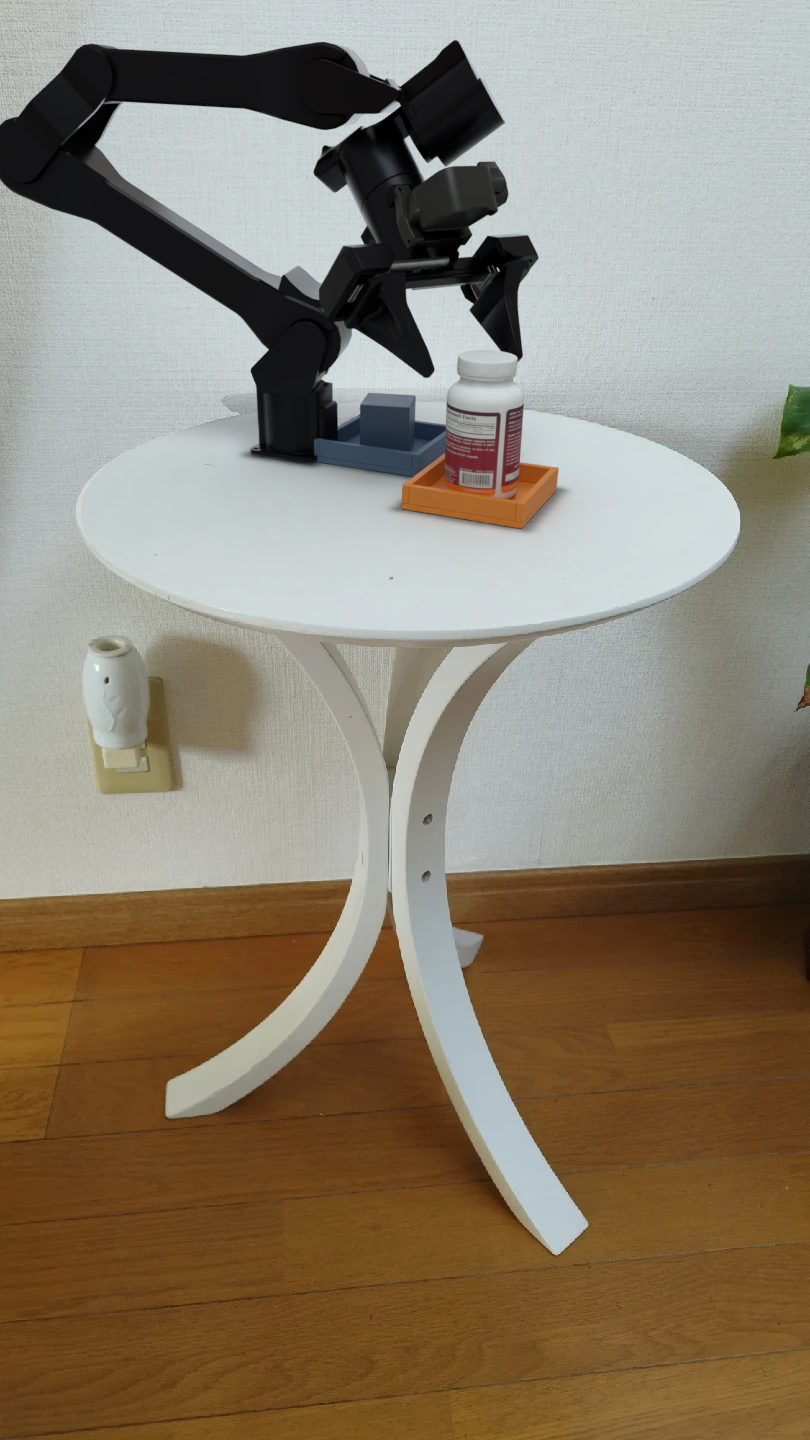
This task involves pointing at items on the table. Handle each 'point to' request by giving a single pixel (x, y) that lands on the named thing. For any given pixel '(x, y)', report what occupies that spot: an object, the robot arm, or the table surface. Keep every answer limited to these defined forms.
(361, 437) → the slate block
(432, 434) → the slate tray
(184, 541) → the table surface
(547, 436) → the table surface
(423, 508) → the amber tray
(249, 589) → the table surface
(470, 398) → the pill bottle
